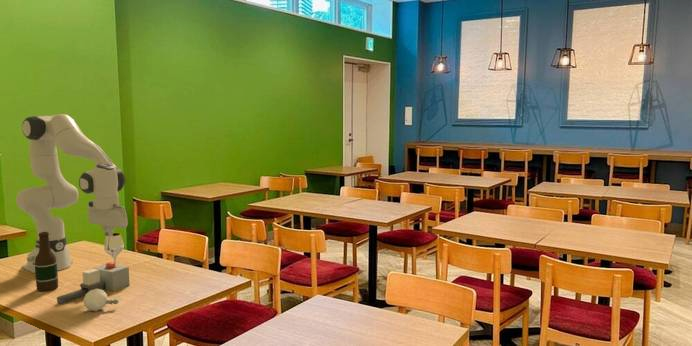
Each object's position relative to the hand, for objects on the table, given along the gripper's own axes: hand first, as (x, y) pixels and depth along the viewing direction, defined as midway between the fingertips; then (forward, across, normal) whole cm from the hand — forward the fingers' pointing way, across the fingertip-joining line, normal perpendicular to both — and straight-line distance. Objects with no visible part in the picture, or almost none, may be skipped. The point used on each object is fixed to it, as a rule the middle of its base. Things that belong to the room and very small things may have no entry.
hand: (108, 236), depth 209 cm
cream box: (+22, 0, +9) cm, 23 cm away
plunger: (+21, 0, 0) cm, 21 cm away
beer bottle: (+22, +20, +15) cm, 33 cm away
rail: (+22, 0, +14) cm, 25 cm away
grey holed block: (+22, 0, 0) cm, 22 cm away
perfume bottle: (+22, -19, +19) cm, 35 cm away
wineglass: (+22, +13, -12) cm, 28 cm away
